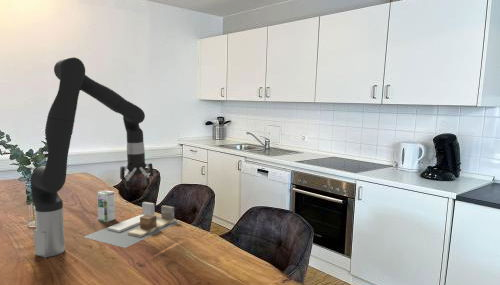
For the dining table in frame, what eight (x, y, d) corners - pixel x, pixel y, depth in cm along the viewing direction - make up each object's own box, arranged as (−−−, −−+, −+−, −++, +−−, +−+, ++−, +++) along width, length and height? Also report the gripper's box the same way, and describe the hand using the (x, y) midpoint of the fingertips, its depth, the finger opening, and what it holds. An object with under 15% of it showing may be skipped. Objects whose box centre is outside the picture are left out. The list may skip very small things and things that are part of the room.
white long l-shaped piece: (119, 232, 161) (118, 216, 161) (107, 229, 164) (107, 214, 164) (156, 217, 183) (155, 203, 182) (145, 215, 186) (144, 201, 185)
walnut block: (148, 229, 162) (148, 218, 162) (140, 228, 164) (139, 217, 164) (156, 226, 167) (156, 215, 166) (147, 224, 169) (147, 214, 168)
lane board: (125, 249, 145) (125, 247, 145) (82, 238, 156) (82, 236, 156) (181, 223, 177) (181, 221, 177) (142, 215, 188) (142, 213, 188)
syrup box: (97, 221, 177) (96, 192, 176) (107, 218, 182) (106, 189, 181) (105, 223, 175) (104, 193, 173) (115, 220, 180) (114, 191, 178)
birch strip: (140, 237, 156) (139, 221, 155) (127, 234, 159) (127, 218, 158) (175, 221, 177) (175, 206, 177) (164, 218, 181) (163, 204, 180)
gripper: (121, 155, 158) (124, 191, 161) (154, 151, 166) (155, 186, 169) (117, 152, 164) (119, 187, 167) (148, 149, 172) (150, 182, 175)
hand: (137, 187), depth 168 cm, fingers open, 8 cm apart
